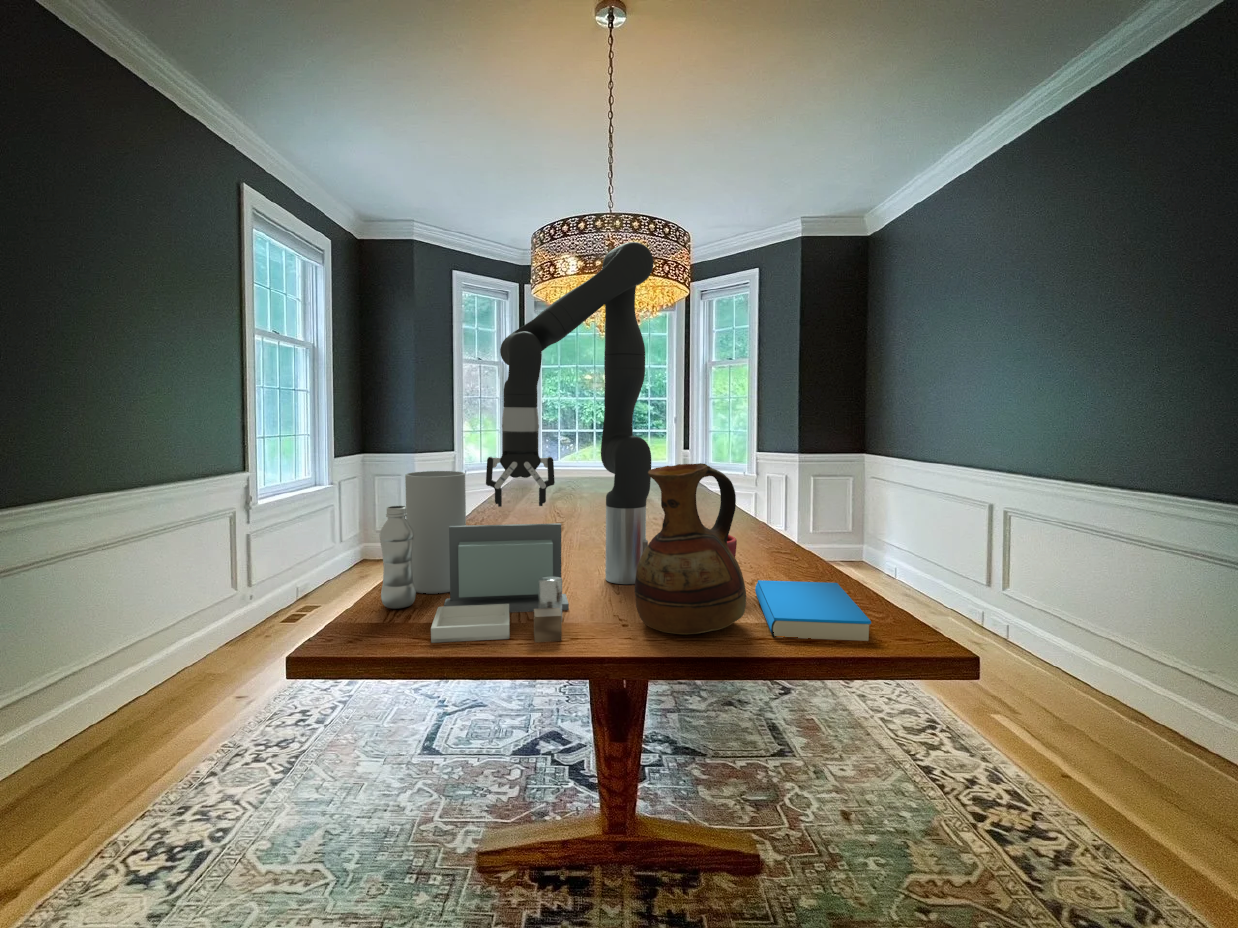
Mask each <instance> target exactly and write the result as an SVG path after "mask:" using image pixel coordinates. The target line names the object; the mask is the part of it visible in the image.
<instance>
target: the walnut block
mask: <svg viewBox="0 0 1238 928" xmlns="http://www.w3.org/2000/svg"><path fill="white" fill-rule="evenodd" d="M562 623H563V615H562V616H561V612H560V608H541V609H534V611H533V636H534V643H549V642H551V643H552V642H562V640H563V639H562V632H563V631H562V630H563V629H562V628H563V627H562Z"/></svg>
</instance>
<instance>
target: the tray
mask: <svg viewBox="0 0 1238 928" xmlns="http://www.w3.org/2000/svg"><path fill="white" fill-rule="evenodd" d="M443 606H444V605H443ZM443 606H438V607H437V609H436V612H435V615H434V618H433V621H432V624H431V627H430V643H433V644H434V643H436V644H437V643H452V642H453V643H454V642H455V643H456V642H471V641H473V642H474V641H490V640H491V641H494V640H510V612H509V604H491V605H467V606H444V607H443Z"/></svg>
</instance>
